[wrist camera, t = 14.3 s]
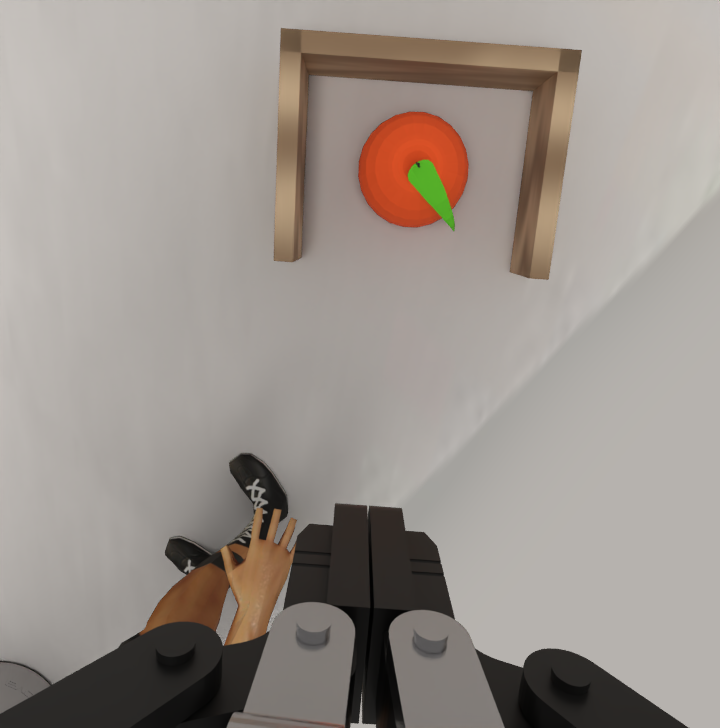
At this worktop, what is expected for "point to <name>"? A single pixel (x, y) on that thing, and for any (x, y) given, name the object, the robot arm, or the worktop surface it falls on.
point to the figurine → (233, 564)
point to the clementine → (413, 170)
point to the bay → (435, 66)
